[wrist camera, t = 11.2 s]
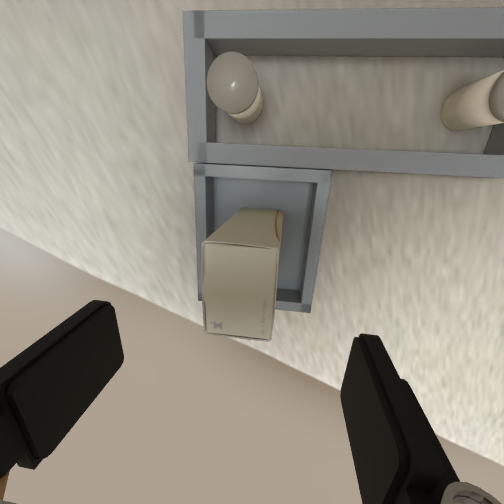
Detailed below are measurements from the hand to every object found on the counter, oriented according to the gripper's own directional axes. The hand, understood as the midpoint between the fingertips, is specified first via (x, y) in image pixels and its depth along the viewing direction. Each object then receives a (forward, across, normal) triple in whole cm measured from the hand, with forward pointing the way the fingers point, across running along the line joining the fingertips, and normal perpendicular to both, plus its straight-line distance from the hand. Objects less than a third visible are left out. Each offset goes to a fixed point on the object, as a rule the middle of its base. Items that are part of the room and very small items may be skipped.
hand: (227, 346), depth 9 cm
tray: (+17, +1, +1) cm, 17 cm away
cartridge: (+18, -15, -11) cm, 26 cm away
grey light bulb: (+18, +3, -11) cm, 21 cm away
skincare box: (+17, +1, +1) cm, 17 cm away
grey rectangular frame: (+18, -6, -11) cm, 22 cm away
